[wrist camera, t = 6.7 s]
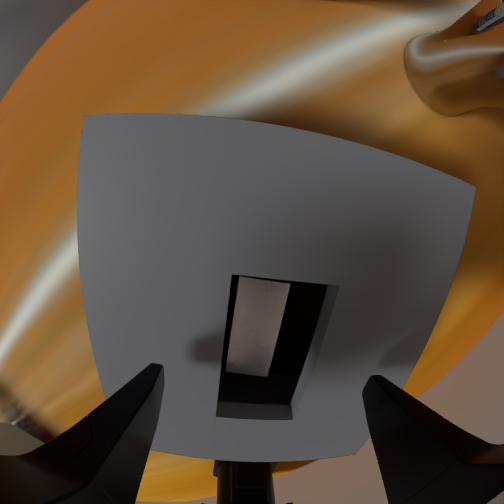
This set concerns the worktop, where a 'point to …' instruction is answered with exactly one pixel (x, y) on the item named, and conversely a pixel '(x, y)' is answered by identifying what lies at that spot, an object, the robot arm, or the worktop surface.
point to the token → (256, 324)
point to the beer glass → (460, 62)
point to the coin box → (258, 272)
